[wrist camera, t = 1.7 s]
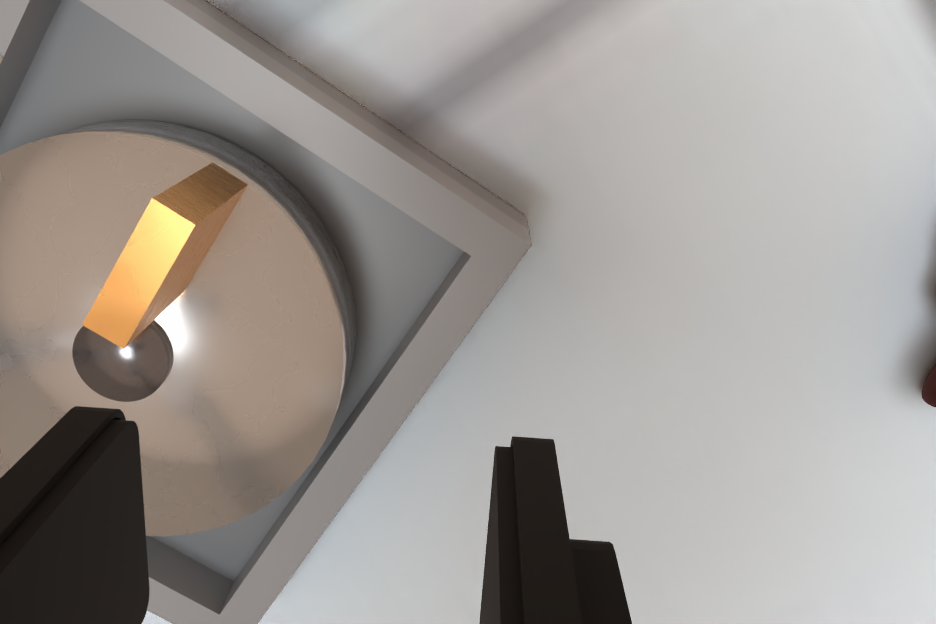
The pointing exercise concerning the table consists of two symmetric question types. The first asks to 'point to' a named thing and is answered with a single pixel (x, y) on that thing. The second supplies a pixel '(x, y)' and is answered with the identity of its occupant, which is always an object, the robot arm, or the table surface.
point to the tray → (337, 205)
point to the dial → (171, 312)
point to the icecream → (930, 388)
